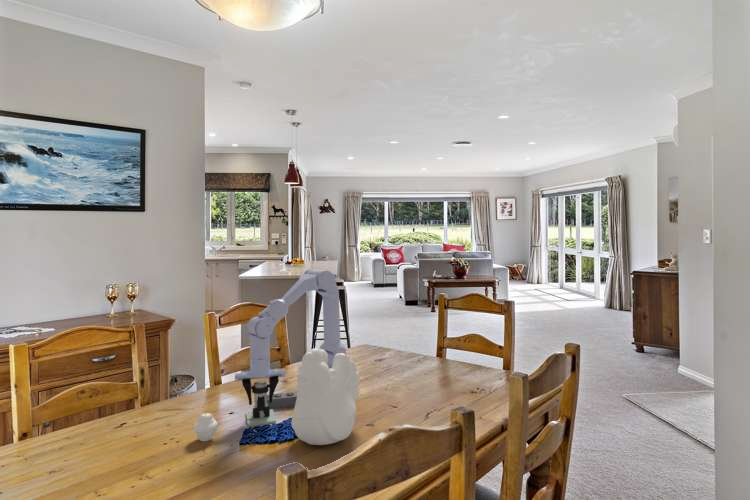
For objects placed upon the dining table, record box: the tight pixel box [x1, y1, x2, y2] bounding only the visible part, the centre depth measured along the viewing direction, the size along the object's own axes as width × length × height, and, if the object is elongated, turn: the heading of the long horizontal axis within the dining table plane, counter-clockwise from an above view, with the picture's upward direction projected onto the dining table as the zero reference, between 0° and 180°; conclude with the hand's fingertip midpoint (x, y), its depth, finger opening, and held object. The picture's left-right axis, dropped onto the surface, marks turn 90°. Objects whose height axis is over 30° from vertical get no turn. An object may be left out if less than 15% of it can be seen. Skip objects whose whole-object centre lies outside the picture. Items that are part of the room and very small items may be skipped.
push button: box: [246, 380, 270, 418], centre depth 139 cm, size 7×5×10 cm
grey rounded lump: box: [193, 412, 219, 442], centre depth 125 cm, size 6×6×7 cm
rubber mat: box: [245, 408, 277, 427], centre depth 139 cm, size 8×10×1 cm
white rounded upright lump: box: [291, 347, 360, 446], centre depth 126 cm, size 25×16×25 cm, turn 136°
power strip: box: [267, 390, 298, 410], centre depth 151 cm, size 18×5×4 cm, turn 108°
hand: (260, 402), depth 139 cm, fingers closed on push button, 5 cm apart
